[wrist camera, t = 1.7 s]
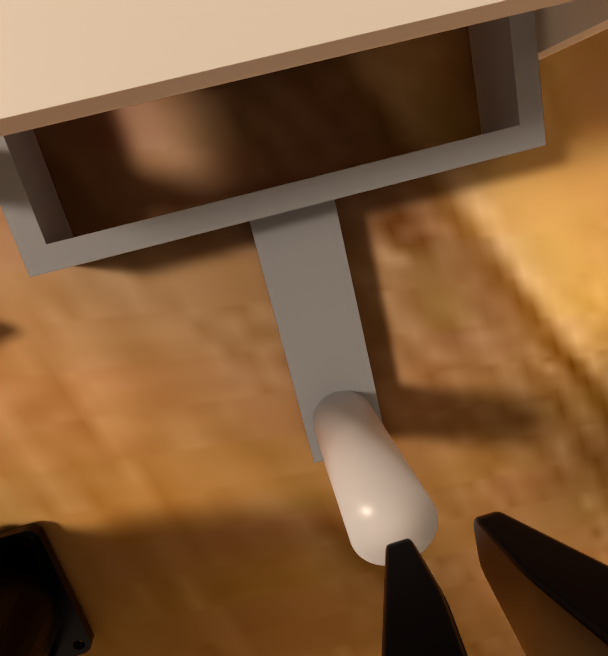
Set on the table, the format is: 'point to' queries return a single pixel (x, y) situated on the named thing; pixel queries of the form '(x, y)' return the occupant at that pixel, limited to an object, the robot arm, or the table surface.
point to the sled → (313, 276)
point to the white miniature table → (219, 44)
